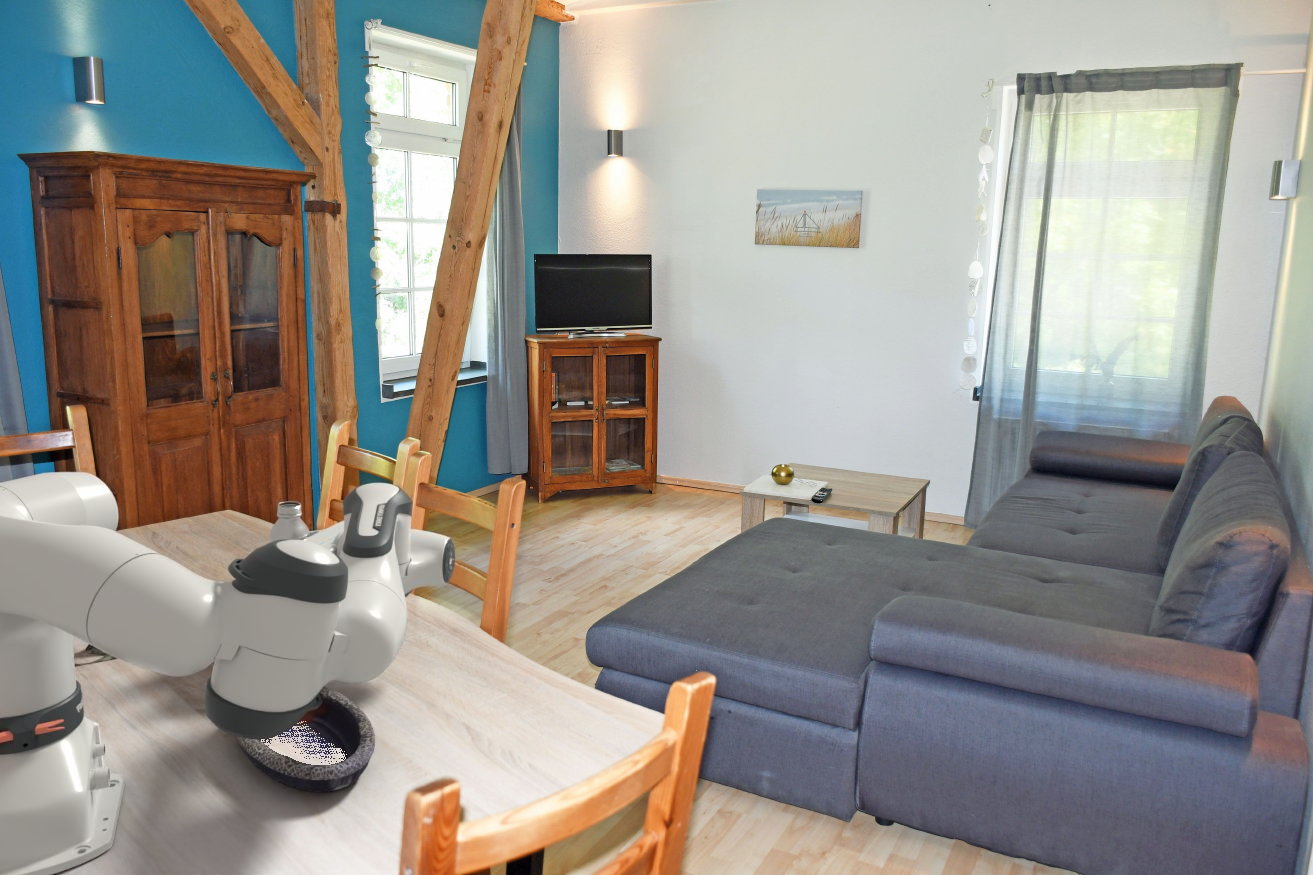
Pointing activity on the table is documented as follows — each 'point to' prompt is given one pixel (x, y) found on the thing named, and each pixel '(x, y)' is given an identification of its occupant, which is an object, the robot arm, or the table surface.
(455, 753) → the table surface
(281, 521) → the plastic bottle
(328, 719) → the dish
